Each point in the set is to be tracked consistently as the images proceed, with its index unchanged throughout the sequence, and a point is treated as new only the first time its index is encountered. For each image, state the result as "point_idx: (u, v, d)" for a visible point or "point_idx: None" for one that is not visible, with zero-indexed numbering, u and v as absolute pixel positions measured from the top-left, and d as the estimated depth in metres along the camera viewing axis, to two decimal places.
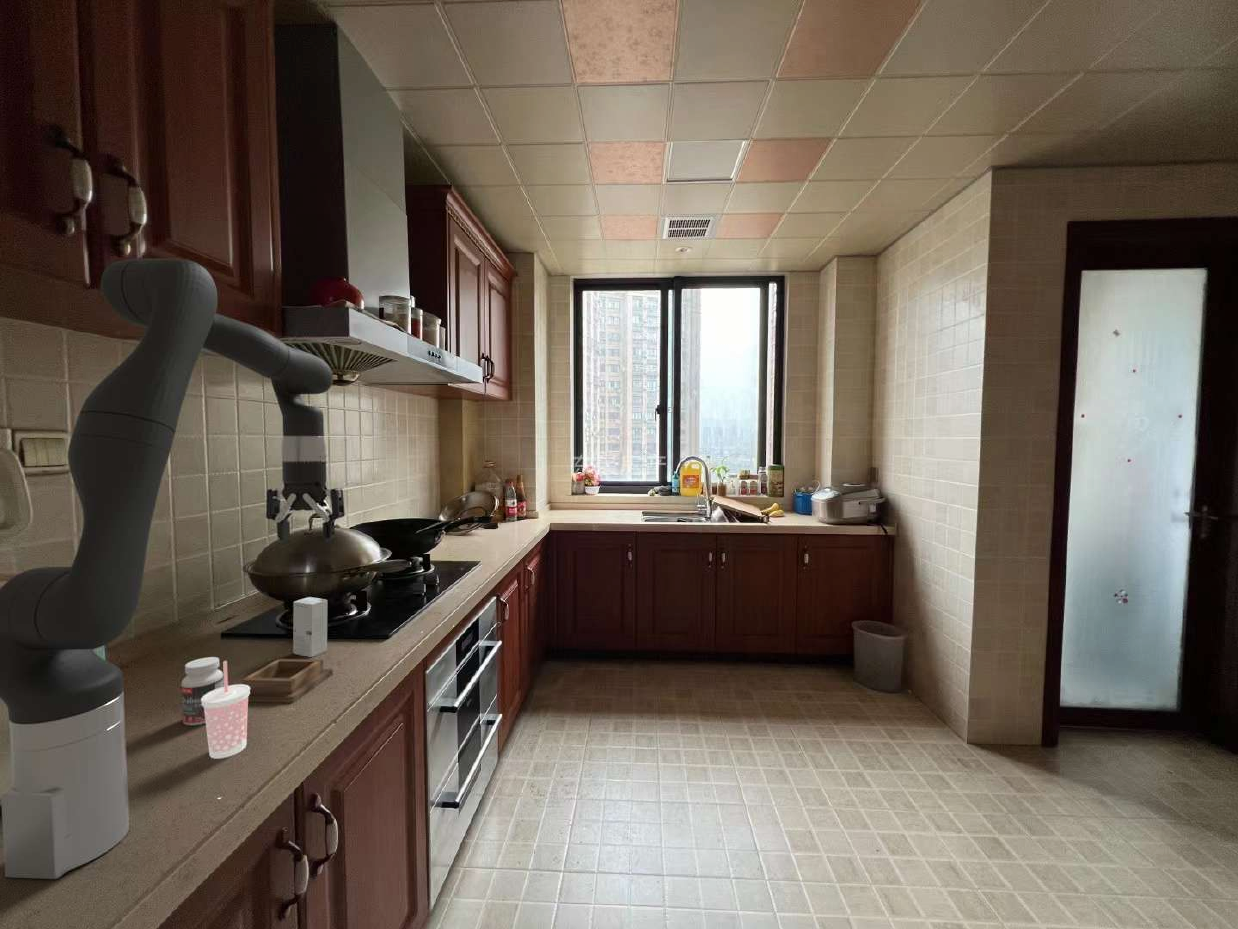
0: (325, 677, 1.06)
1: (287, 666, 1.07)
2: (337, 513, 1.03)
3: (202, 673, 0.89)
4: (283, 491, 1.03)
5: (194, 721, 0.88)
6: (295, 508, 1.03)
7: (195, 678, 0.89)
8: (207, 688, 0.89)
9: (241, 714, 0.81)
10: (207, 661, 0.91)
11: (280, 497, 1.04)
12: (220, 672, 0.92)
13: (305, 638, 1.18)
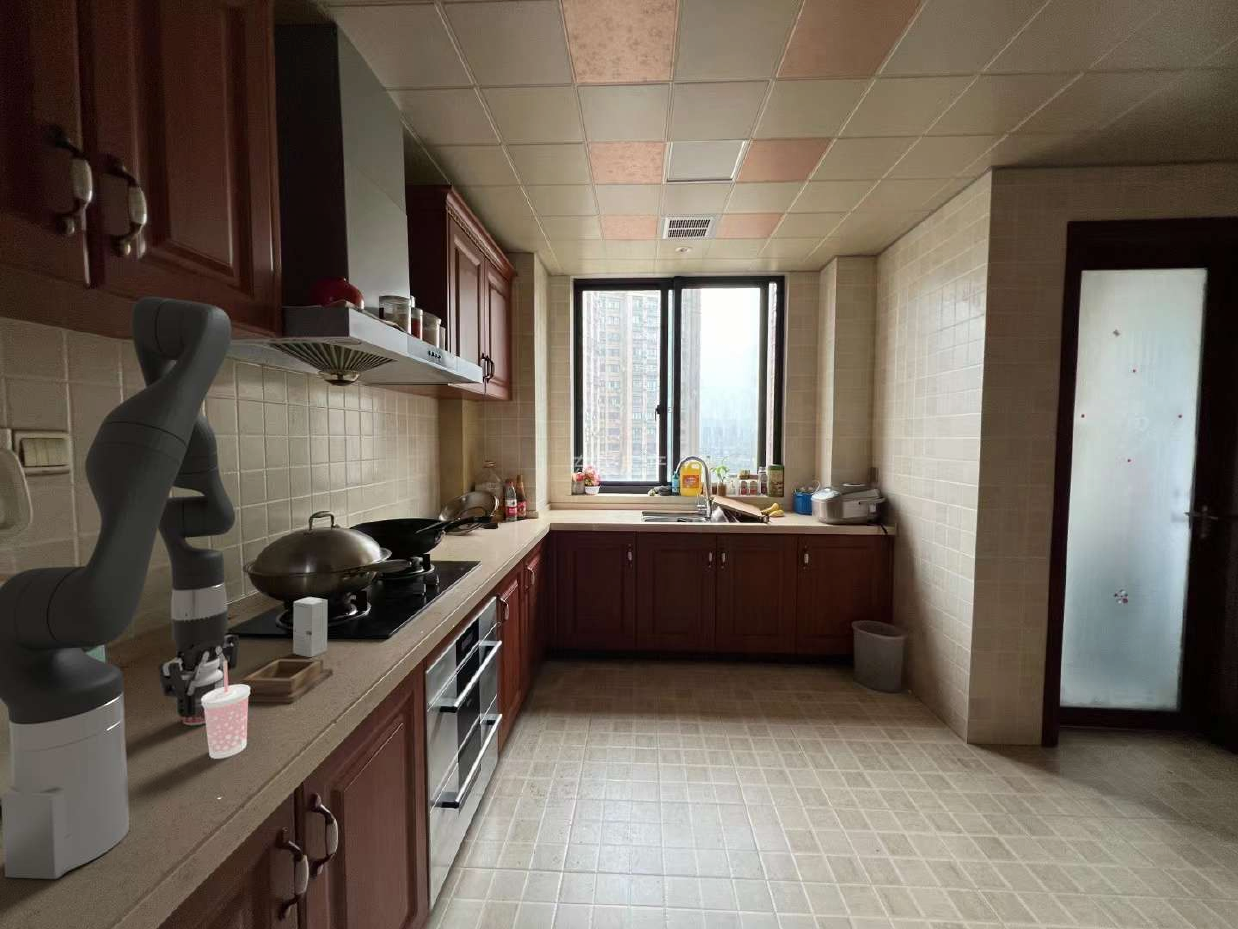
0: (325, 677, 1.06)
1: (287, 666, 1.07)
2: (235, 662, 0.97)
3: None
4: (188, 656, 0.87)
5: (194, 721, 0.88)
6: None
7: None
8: (207, 688, 0.89)
9: (241, 714, 0.81)
10: None
11: None
12: (220, 672, 0.92)
13: (305, 638, 1.18)
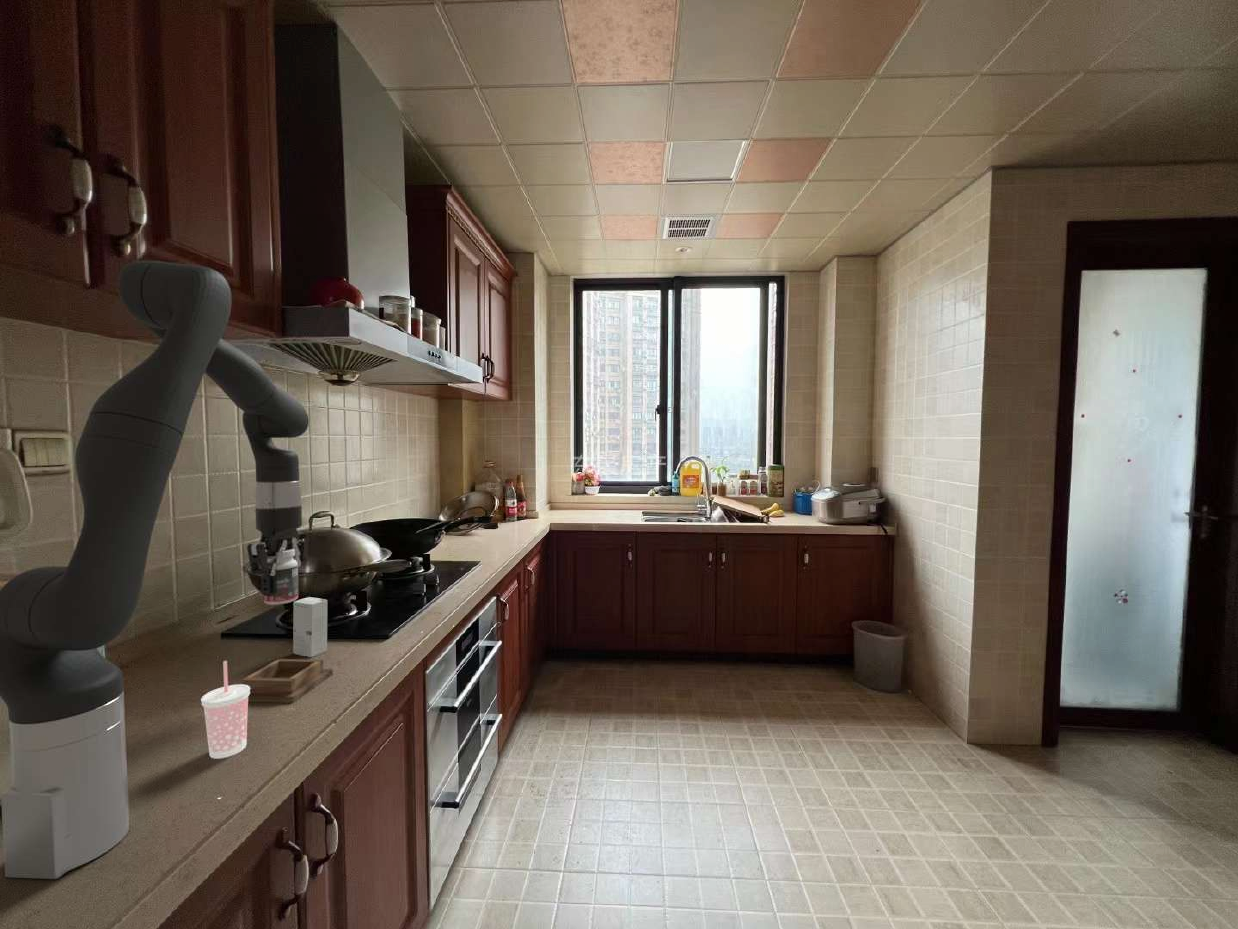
0: (325, 677, 1.06)
1: (287, 666, 1.07)
2: (306, 557, 1.08)
3: (282, 558, 1.00)
4: (271, 541, 0.98)
5: (275, 600, 0.99)
6: None
7: None
8: (286, 572, 1.00)
9: (241, 714, 0.81)
10: None
11: None
12: (295, 561, 1.03)
13: (305, 638, 1.18)
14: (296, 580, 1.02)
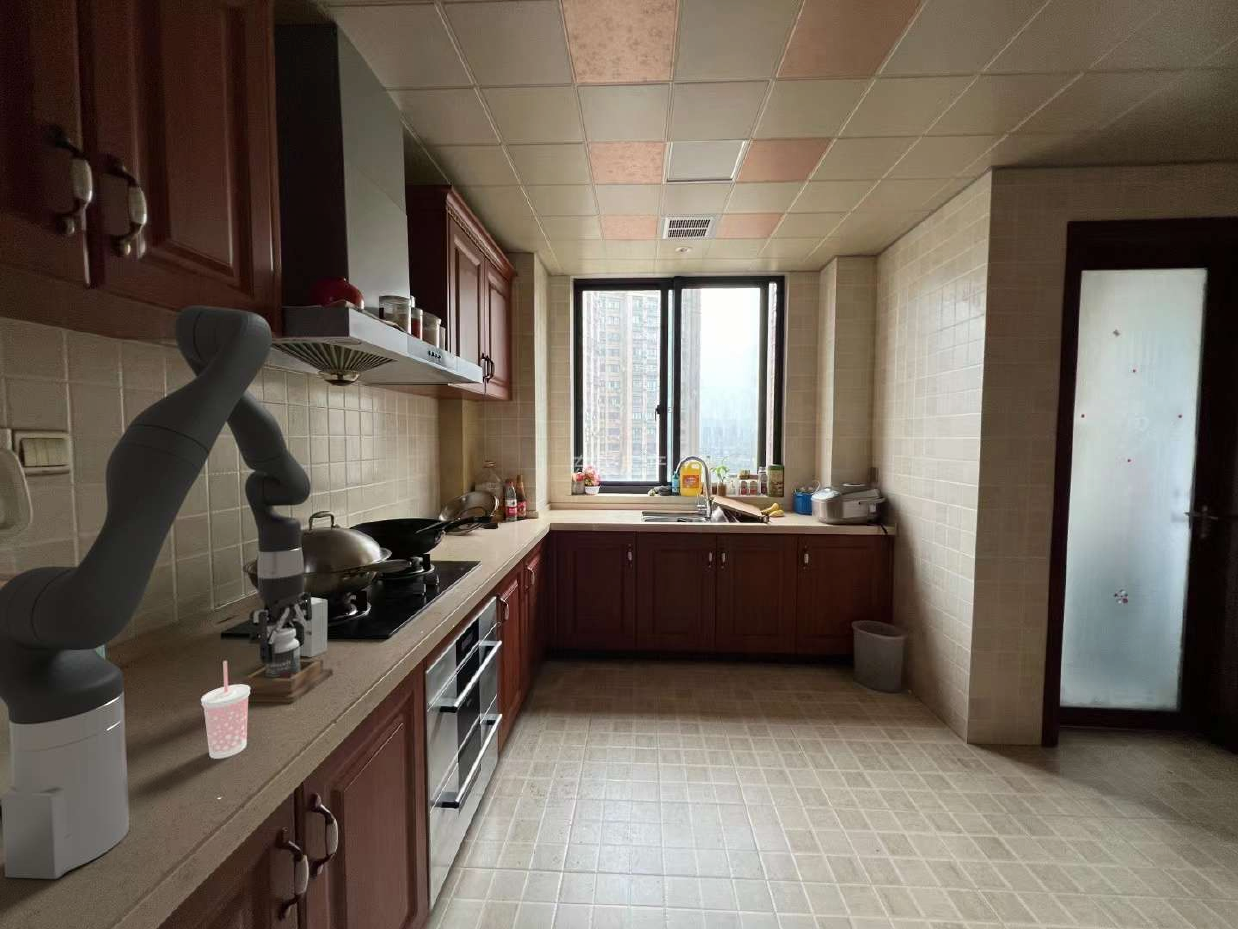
0: (325, 677, 1.06)
1: None
2: (311, 615, 1.09)
3: (283, 640, 1.01)
4: (274, 609, 0.99)
5: None
6: (282, 623, 1.01)
7: (277, 645, 1.01)
8: (287, 654, 1.01)
9: (241, 714, 0.81)
10: (285, 630, 1.03)
11: None
12: (297, 640, 1.04)
13: (305, 638, 1.18)
14: (298, 660, 1.03)
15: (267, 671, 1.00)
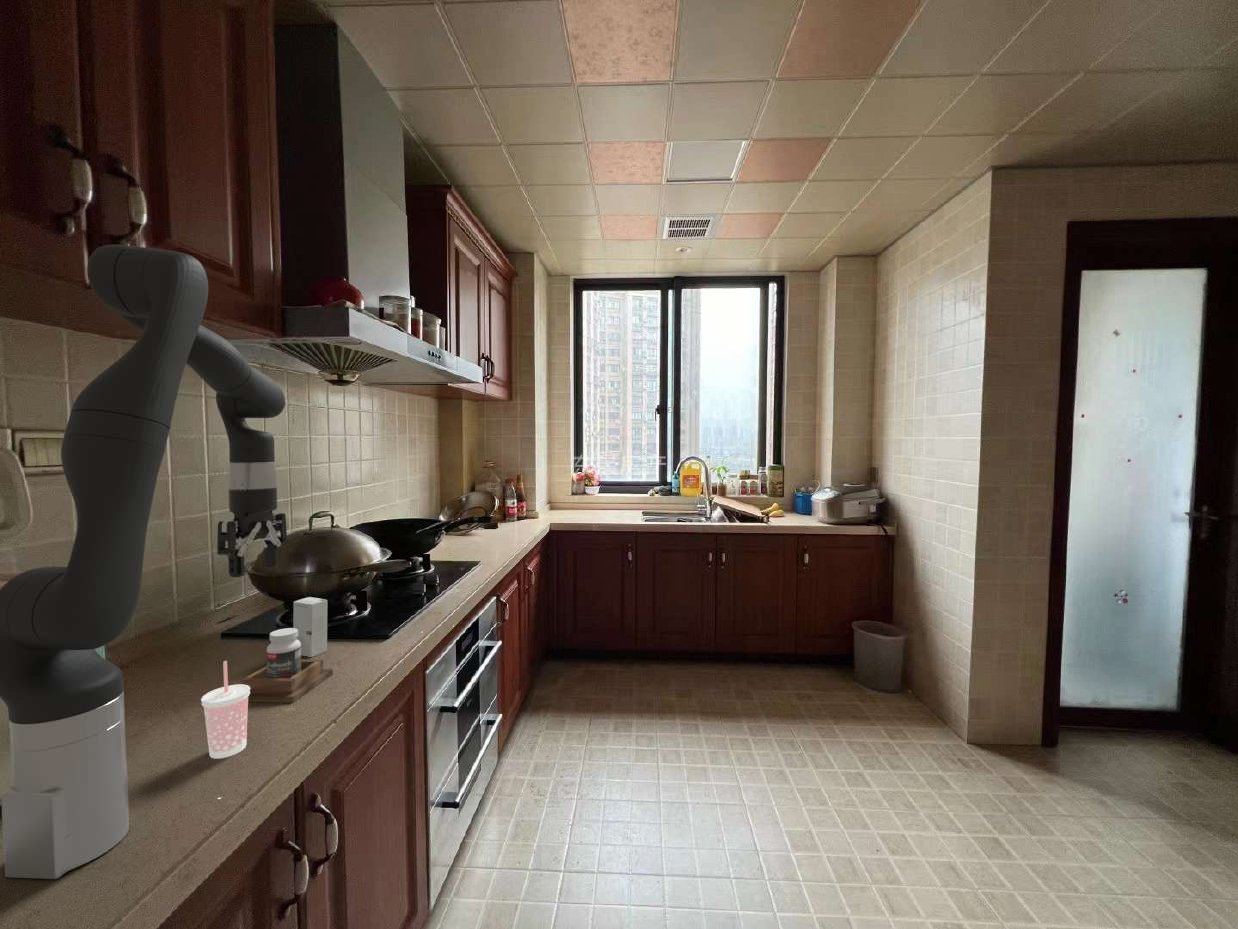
0: (325, 677, 1.06)
1: None
2: (286, 536, 1.06)
3: (285, 641, 1.01)
4: (244, 522, 0.96)
5: None
6: (253, 538, 0.98)
7: (279, 645, 1.01)
8: (288, 655, 1.01)
9: (241, 714, 0.81)
10: (288, 631, 1.03)
11: None
12: (298, 641, 1.04)
13: (305, 638, 1.18)
14: (299, 661, 1.03)
15: (268, 671, 1.00)
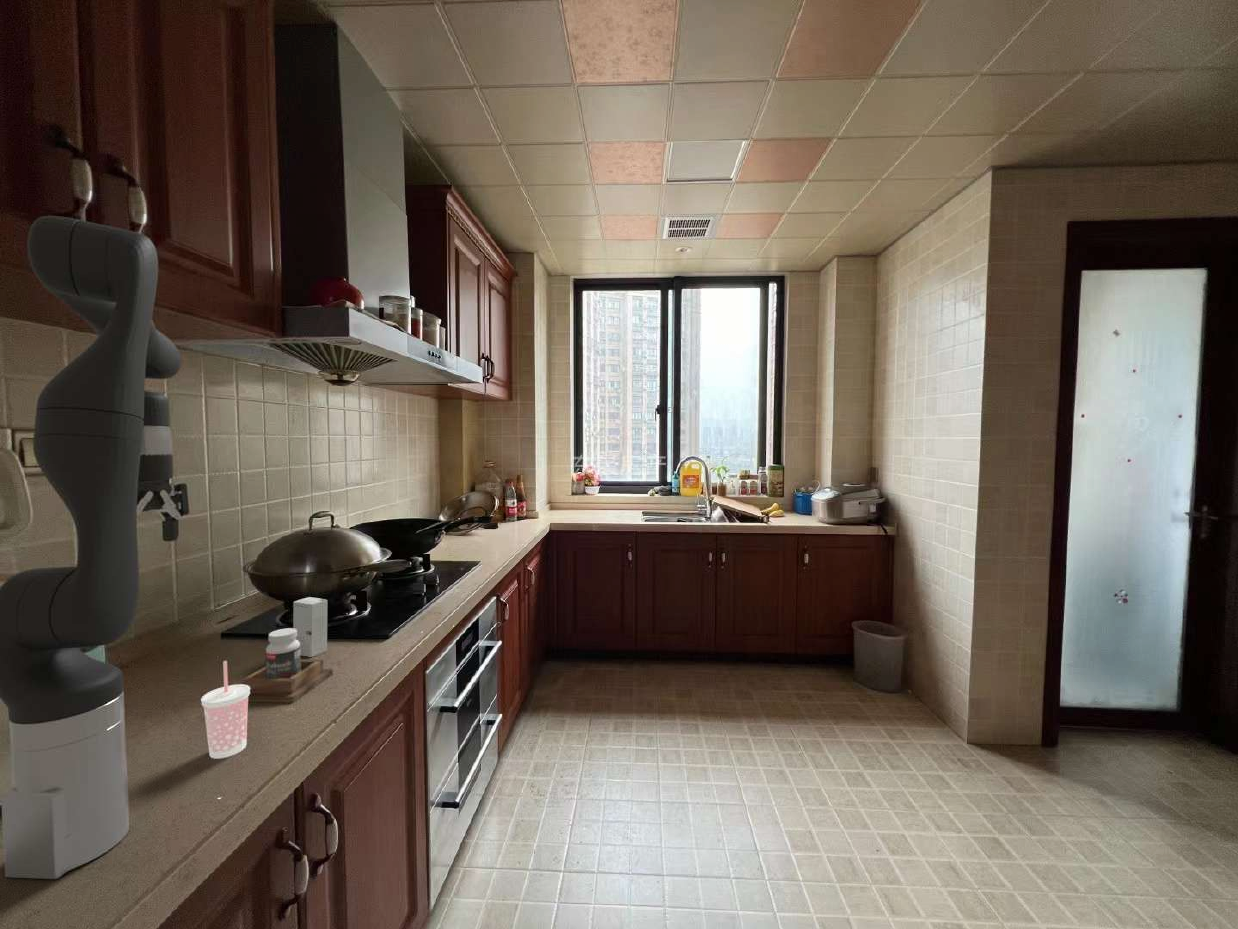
0: (325, 677, 1.06)
1: None
2: (188, 509, 0.98)
3: (284, 641, 1.01)
4: None
5: None
6: (144, 508, 0.90)
7: (278, 645, 1.00)
8: (288, 655, 1.01)
9: (241, 714, 0.81)
10: (287, 631, 1.03)
11: None
12: (298, 641, 1.04)
13: (305, 638, 1.18)
14: (298, 661, 1.03)
15: (267, 671, 1.00)
